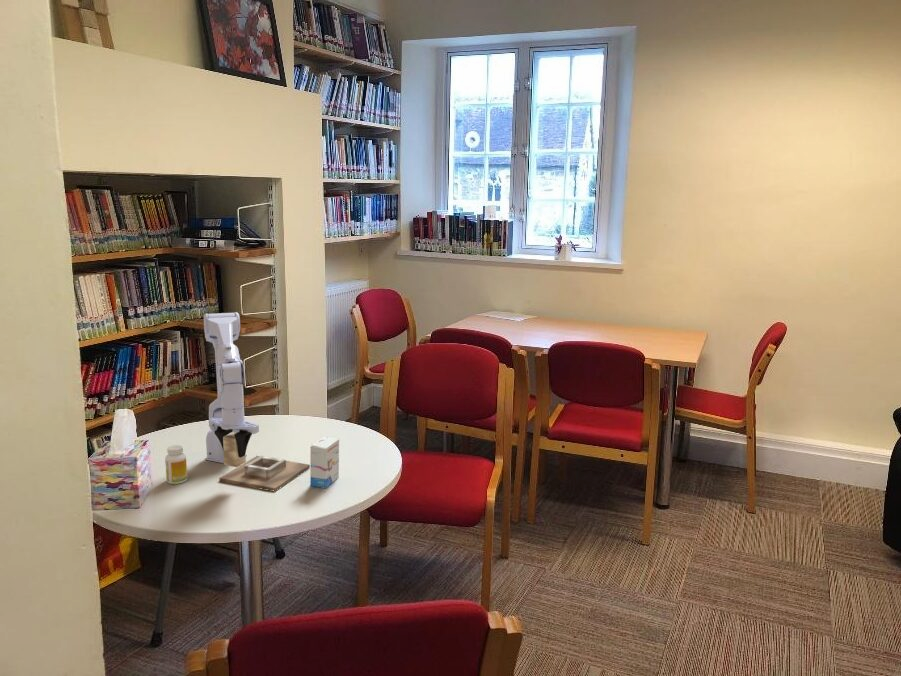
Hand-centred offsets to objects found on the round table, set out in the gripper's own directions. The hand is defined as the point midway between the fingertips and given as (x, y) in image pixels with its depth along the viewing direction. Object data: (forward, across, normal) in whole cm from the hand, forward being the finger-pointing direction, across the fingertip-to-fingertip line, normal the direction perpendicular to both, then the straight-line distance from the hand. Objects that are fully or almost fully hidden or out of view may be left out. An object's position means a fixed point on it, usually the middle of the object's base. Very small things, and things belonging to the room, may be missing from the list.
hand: (234, 454), depth 198 cm
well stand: (+9, +2, +11) cm, 14 cm away
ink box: (+10, +20, +13) cm, 26 cm away
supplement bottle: (+10, -18, -3) cm, 20 cm away
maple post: (+2, 0, 0) cm, 2 cm away
